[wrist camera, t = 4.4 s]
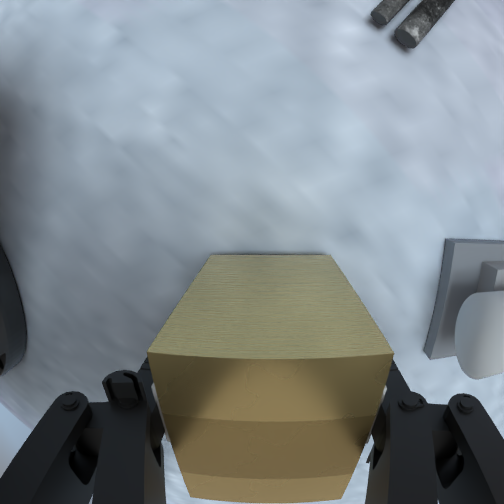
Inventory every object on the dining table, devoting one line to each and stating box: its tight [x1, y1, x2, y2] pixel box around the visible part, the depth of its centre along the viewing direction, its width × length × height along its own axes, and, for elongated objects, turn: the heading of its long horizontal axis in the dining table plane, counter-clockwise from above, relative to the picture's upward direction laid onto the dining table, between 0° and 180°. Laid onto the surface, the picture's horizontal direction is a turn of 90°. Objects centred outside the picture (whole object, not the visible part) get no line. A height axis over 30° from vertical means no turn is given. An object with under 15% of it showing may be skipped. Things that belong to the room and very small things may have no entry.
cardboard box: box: [147, 255, 394, 503], centre depth 11 cm, size 7×6×8 cm
